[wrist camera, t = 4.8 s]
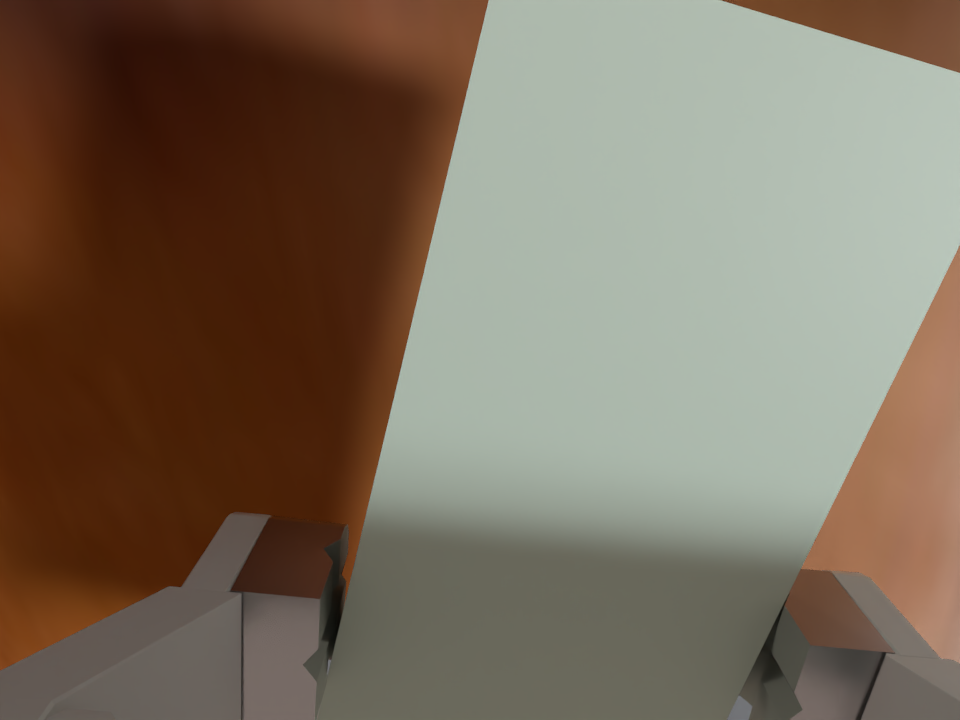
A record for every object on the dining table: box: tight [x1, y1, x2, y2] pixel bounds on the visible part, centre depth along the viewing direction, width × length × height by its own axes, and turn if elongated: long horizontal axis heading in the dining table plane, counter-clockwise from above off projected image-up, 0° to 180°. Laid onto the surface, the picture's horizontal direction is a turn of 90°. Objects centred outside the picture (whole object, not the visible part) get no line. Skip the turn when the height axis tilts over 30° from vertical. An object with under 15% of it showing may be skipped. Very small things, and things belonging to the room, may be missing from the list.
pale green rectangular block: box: [317, 0, 960, 720], centre depth 10 cm, size 5×14×3 cm, turn 165°
